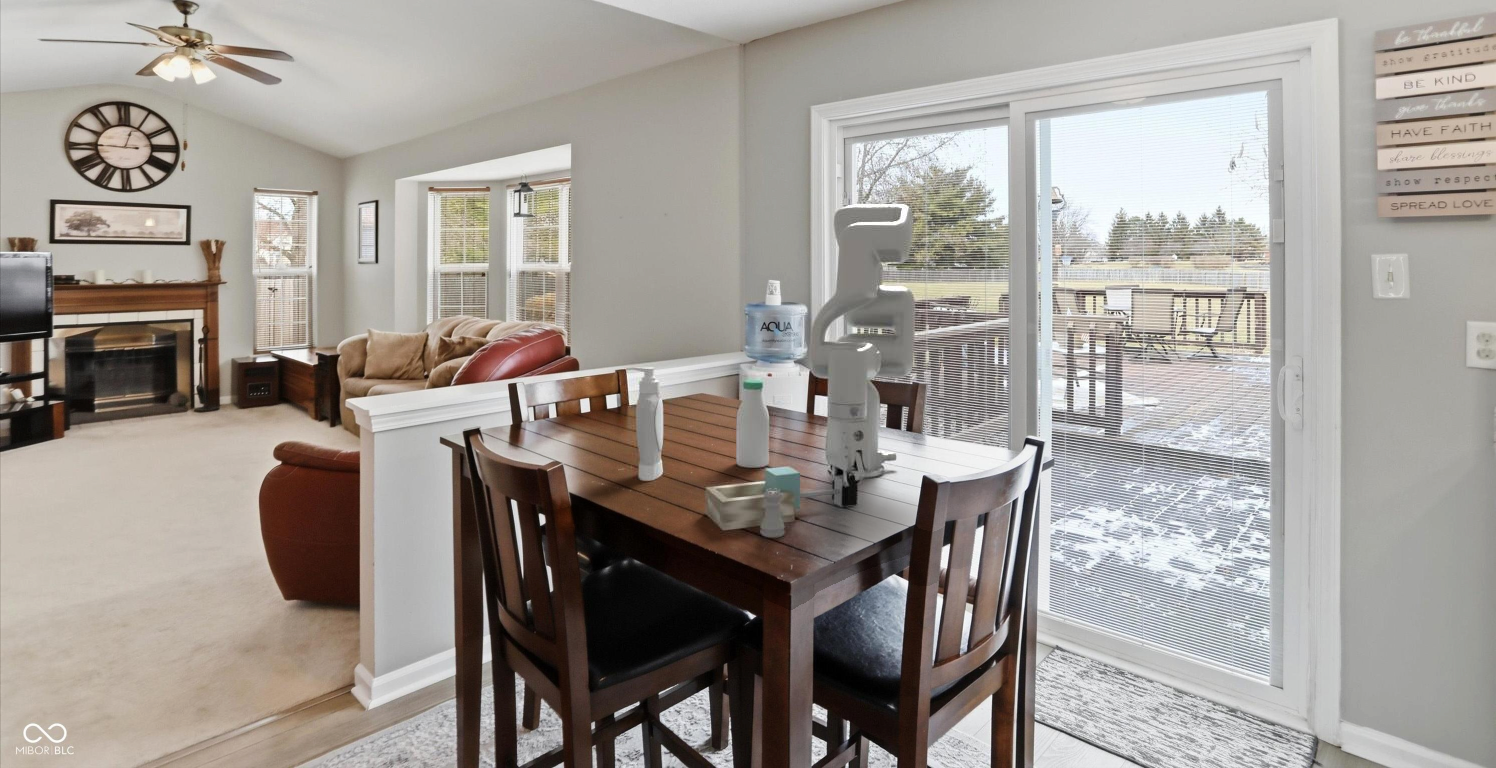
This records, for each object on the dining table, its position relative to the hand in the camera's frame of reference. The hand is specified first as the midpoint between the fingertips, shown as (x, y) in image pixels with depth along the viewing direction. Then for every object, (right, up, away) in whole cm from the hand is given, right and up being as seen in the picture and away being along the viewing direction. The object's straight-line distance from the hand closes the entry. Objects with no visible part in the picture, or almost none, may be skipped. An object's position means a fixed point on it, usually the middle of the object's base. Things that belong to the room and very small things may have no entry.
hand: (844, 501), depth 150 cm
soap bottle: (-42, +3, +21) cm, 47 cm away
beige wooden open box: (-19, -2, -7) cm, 20 cm away
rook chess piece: (-15, -3, -16) cm, 22 cm away
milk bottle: (-18, +4, +30) cm, 35 cm away
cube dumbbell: (-7, -1, -3) cm, 7 cm away
